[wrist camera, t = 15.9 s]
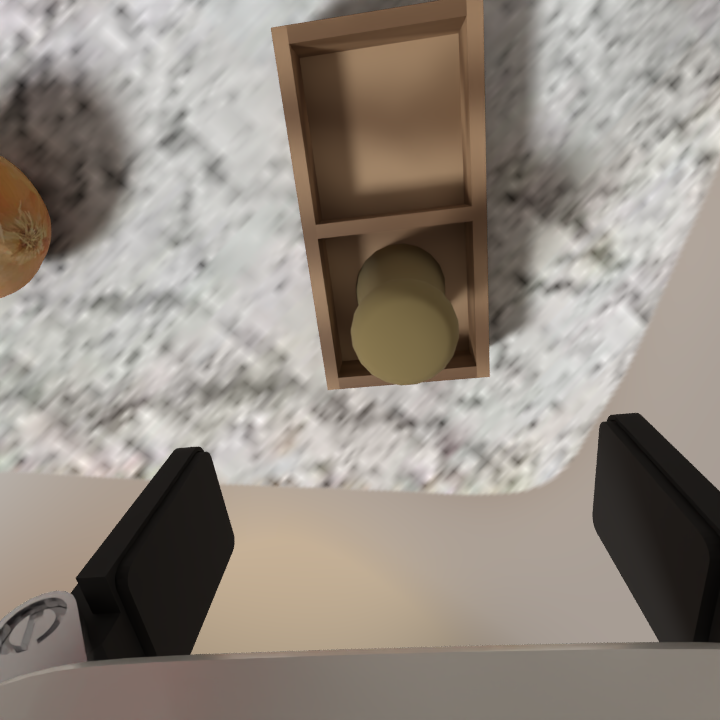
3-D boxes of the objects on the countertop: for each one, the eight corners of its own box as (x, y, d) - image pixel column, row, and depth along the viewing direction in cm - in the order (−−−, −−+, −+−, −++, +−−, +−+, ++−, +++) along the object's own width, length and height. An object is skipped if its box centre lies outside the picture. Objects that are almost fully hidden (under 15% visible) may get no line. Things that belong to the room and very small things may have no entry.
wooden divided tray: (287, 49, 27) (270, 27, 23) (469, 20, 26) (482, -7, 22) (334, 365, 35) (327, 389, 31) (478, 353, 34) (489, 376, 30)
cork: (415, 224, 29) (429, 249, 19) (462, 302, 31) (497, 363, 21) (338, 276, 31) (312, 324, 21) (386, 347, 32) (385, 425, 22)
